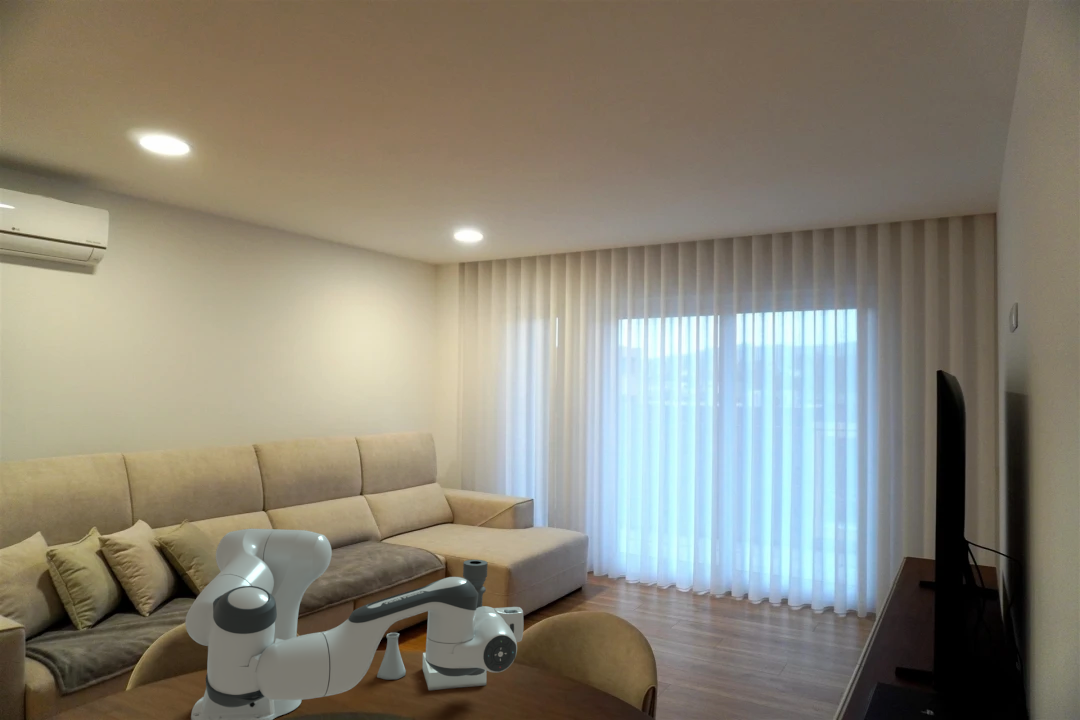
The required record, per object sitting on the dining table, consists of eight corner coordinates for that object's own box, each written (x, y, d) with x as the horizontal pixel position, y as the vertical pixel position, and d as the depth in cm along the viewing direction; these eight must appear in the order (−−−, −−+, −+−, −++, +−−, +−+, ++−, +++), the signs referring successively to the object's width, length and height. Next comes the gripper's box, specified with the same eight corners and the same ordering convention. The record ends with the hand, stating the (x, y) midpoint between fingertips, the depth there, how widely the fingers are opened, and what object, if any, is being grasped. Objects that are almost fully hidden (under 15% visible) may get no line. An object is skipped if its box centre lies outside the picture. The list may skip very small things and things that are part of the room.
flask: (399, 682, 172) (400, 640, 172) (371, 679, 173) (373, 637, 174) (410, 671, 179) (411, 631, 179) (384, 668, 180) (385, 628, 181)
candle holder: (455, 666, 166) (459, 560, 166) (480, 663, 168) (484, 558, 169) (462, 677, 160) (466, 566, 161) (488, 673, 162) (492, 564, 163)
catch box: (428, 690, 167) (429, 673, 167) (422, 668, 180) (422, 652, 181) (486, 685, 171) (486, 668, 171) (475, 664, 184) (476, 648, 184)
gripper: (436, 647, 149) (428, 626, 162) (529, 640, 154) (514, 621, 168) (437, 616, 149) (429, 599, 163) (529, 611, 155) (515, 594, 168)
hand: (473, 610), depth 165 cm, fingers closed on candle holder, 4 cm apart
